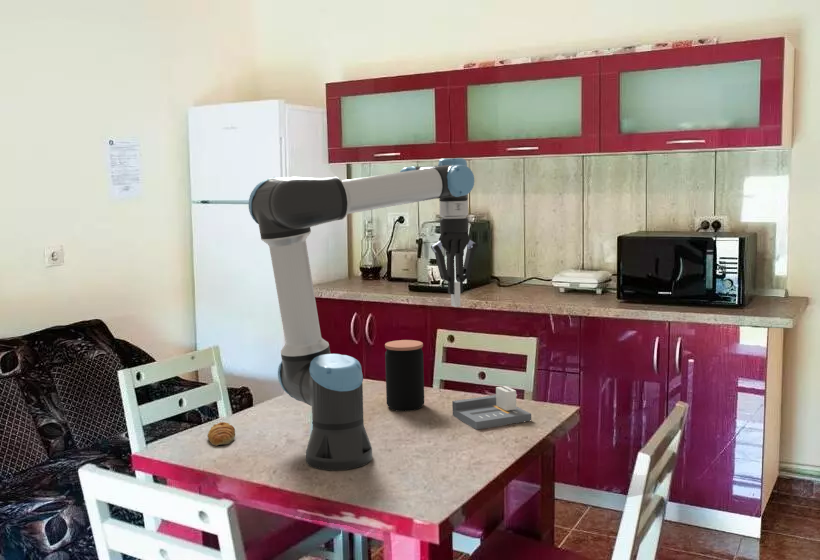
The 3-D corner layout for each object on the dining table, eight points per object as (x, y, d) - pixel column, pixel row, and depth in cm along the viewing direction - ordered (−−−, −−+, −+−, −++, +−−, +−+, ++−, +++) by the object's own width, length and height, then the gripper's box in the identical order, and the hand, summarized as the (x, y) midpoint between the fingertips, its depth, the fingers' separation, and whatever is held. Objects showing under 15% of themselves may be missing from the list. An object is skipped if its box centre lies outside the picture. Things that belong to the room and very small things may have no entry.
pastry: (236, 445, 200) (235, 430, 199) (208, 448, 198) (207, 433, 198) (235, 434, 209) (234, 420, 208) (207, 437, 207) (206, 422, 207)
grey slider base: (476, 429, 207) (475, 414, 207) (452, 415, 220) (452, 401, 219) (531, 421, 213) (531, 406, 213) (505, 407, 226) (505, 393, 225)
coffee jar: (426, 401, 235) (424, 339, 232) (422, 412, 224) (421, 347, 222) (389, 401, 236) (387, 339, 233) (384, 411, 225) (382, 347, 223)
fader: (506, 410, 215) (506, 391, 214) (496, 405, 220) (495, 386, 219) (516, 409, 216) (516, 390, 215) (506, 404, 221) (505, 385, 220)
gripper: (436, 219, 210) (438, 309, 213) (482, 216, 214) (484, 305, 217) (425, 218, 217) (427, 306, 220) (470, 215, 221) (471, 302, 224)
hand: (455, 305), depth 218 cm, fingers closed
